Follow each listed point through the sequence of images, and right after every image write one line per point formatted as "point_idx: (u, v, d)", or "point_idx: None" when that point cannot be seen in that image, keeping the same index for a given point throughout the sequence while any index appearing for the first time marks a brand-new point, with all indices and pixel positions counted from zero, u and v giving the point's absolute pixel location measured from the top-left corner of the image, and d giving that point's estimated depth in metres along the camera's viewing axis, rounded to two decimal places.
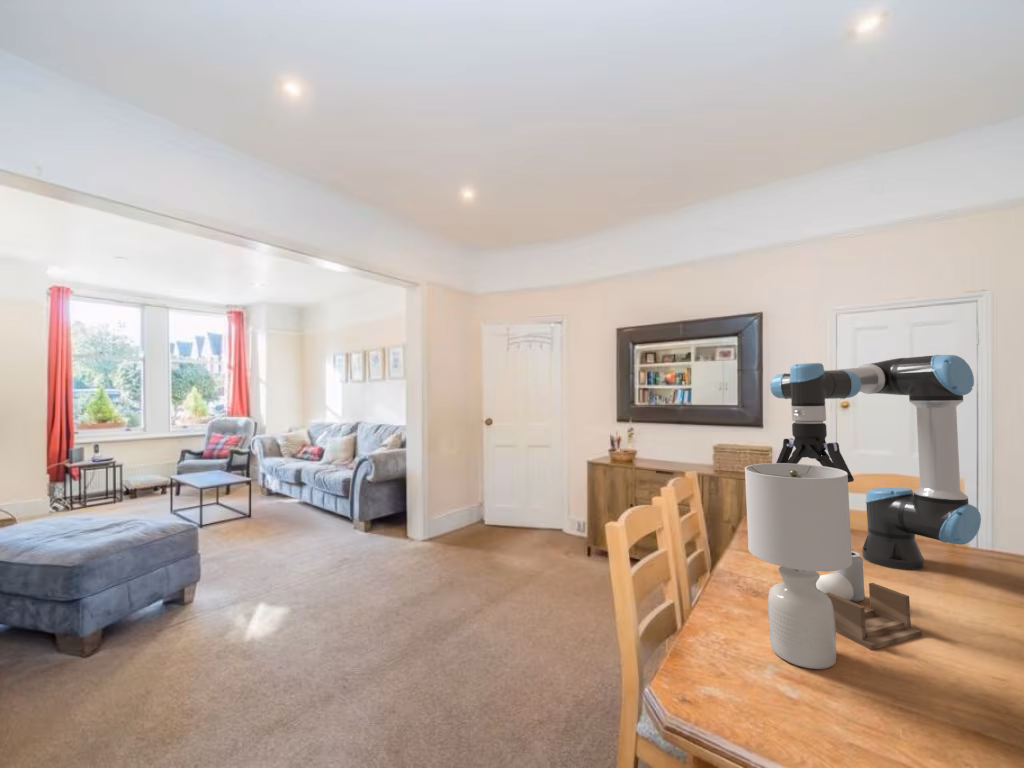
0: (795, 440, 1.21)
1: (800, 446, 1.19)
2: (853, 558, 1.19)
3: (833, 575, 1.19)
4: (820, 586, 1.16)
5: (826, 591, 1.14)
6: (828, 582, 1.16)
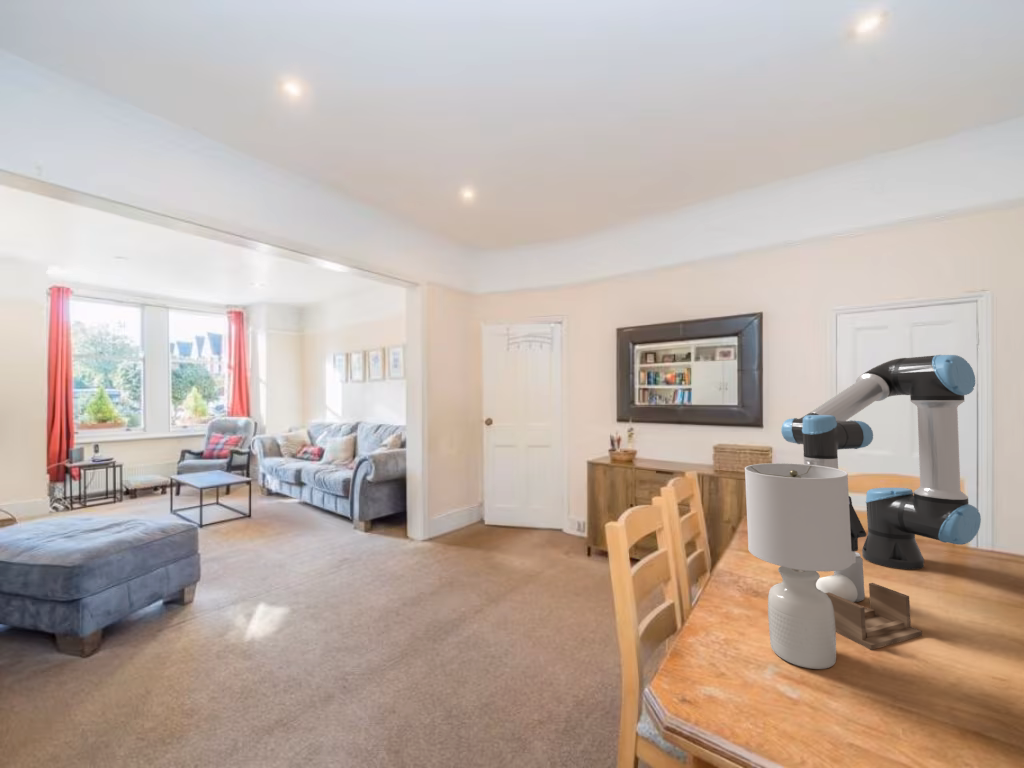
0: None
1: None
2: None
3: (841, 579, 1.17)
4: (826, 591, 1.14)
5: None
6: (835, 587, 1.15)
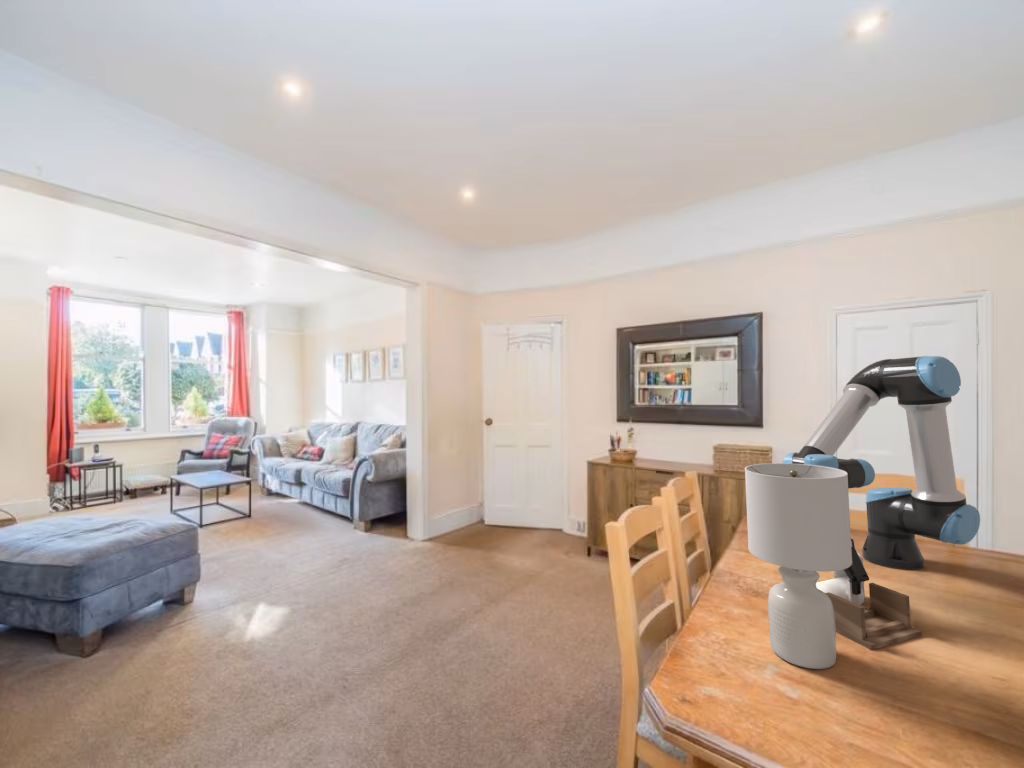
0: None
1: None
2: None
3: None
4: None
5: None
6: (845, 597, 1.12)
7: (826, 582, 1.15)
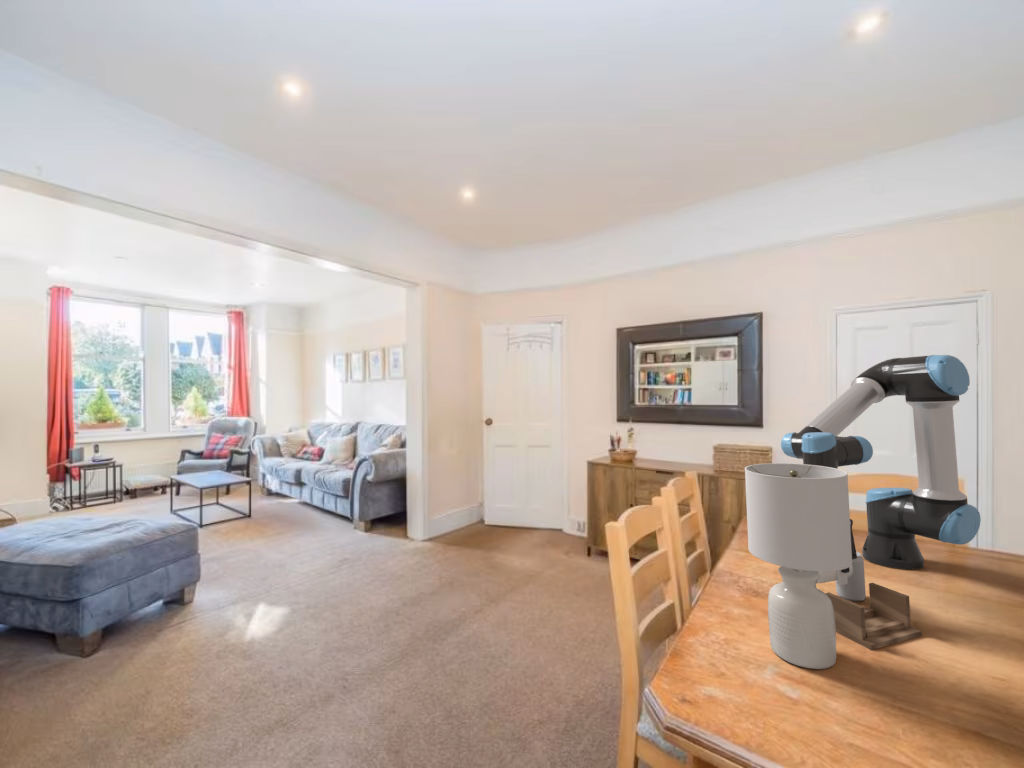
0: None
1: None
2: None
3: None
4: None
5: None
6: None
7: None
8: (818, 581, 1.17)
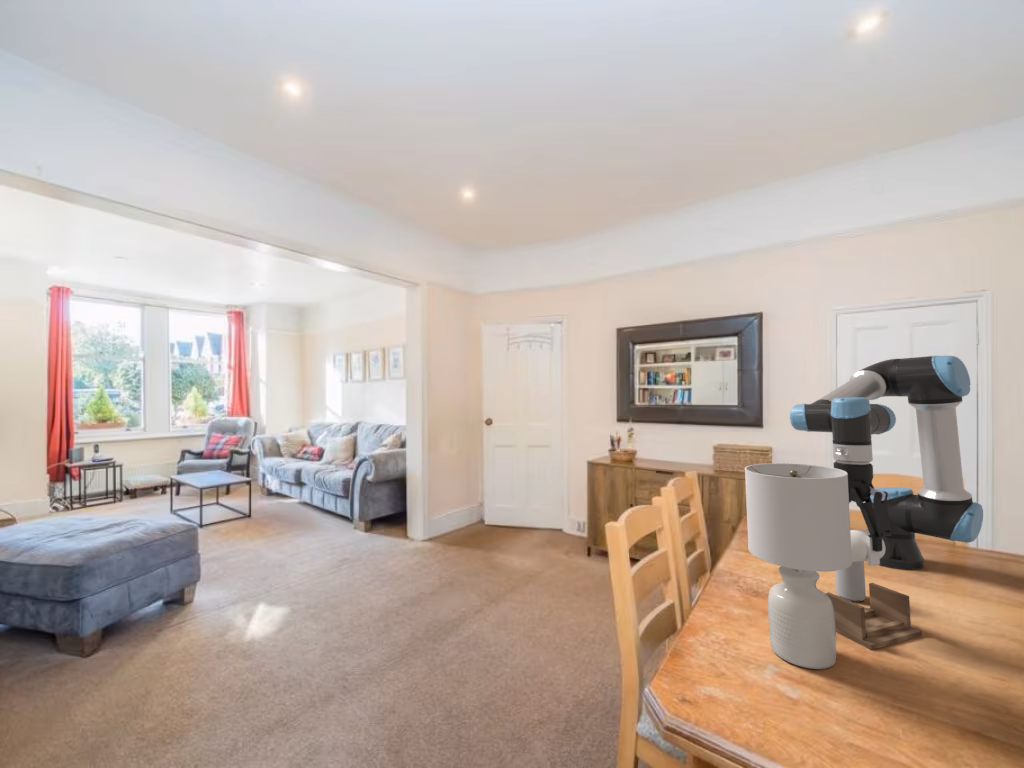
0: None
1: None
2: None
3: (862, 530, 1.08)
4: None
5: (855, 543, 1.03)
6: (856, 535, 1.05)
7: None
8: None
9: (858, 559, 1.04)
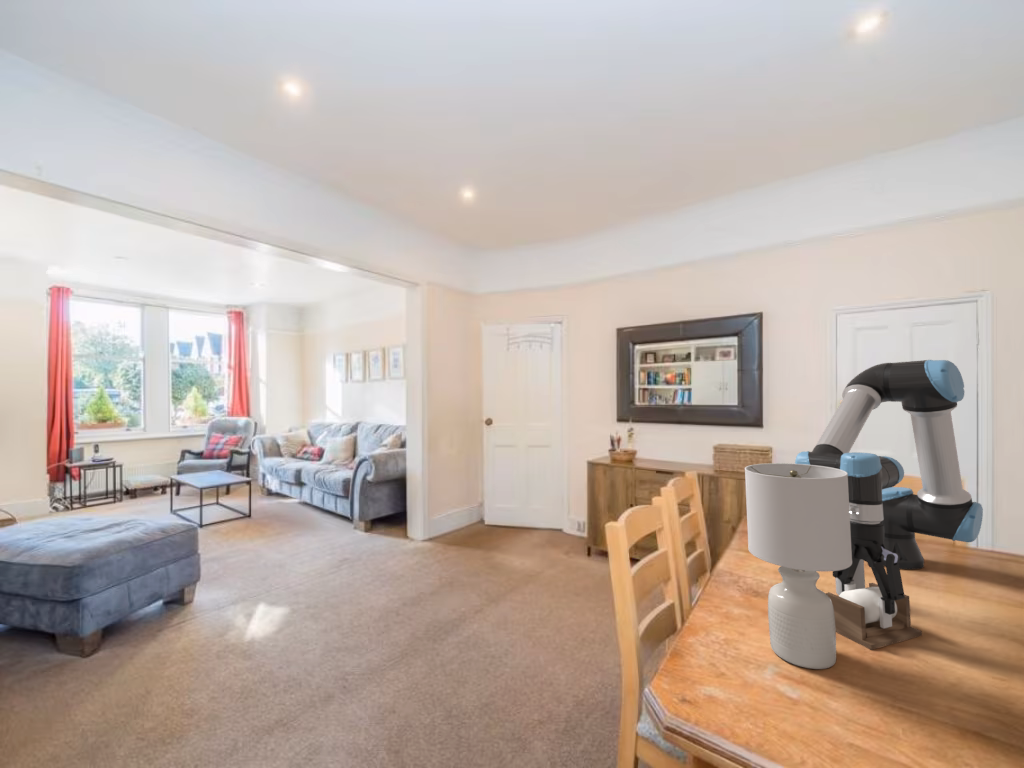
0: None
1: (853, 546, 1.06)
2: None
3: (873, 589, 1.06)
4: (860, 600, 1.02)
5: (867, 605, 1.01)
6: (868, 595, 1.03)
7: None
8: None
9: (870, 621, 1.02)
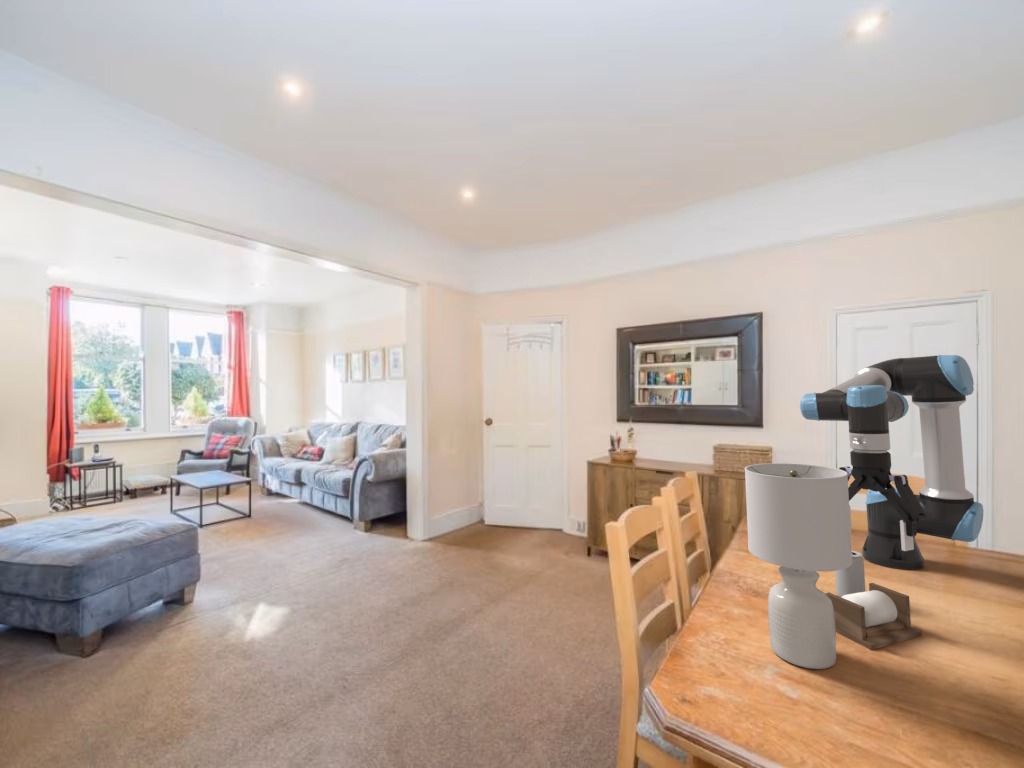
0: (854, 470, 1.10)
1: (860, 477, 1.07)
2: (854, 558, 1.19)
3: (872, 592, 1.06)
4: (860, 603, 1.02)
5: (867, 609, 1.01)
6: (868, 599, 1.03)
7: None
8: None
9: (871, 625, 1.02)
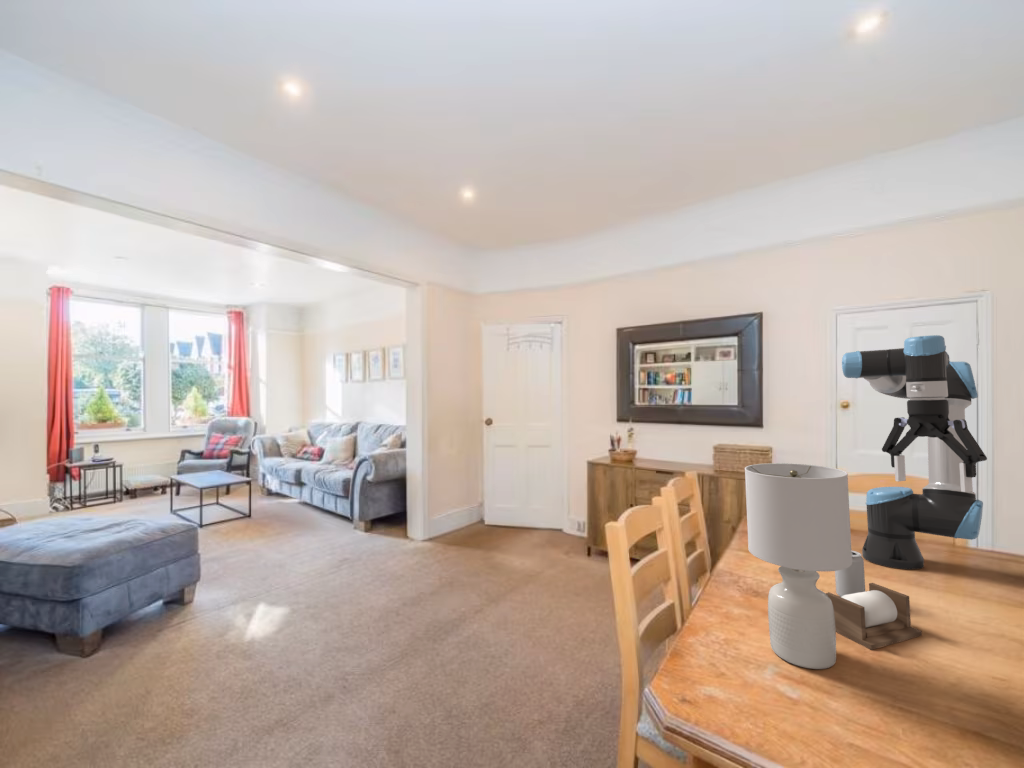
0: (910, 419, 1.13)
1: (918, 425, 1.11)
2: (854, 558, 1.19)
3: (872, 592, 1.06)
4: (860, 603, 1.02)
5: (867, 609, 1.01)
6: (868, 599, 1.03)
7: None
8: None
9: (871, 625, 1.02)
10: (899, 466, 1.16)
